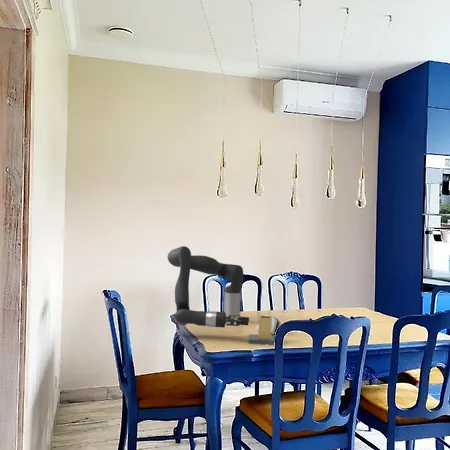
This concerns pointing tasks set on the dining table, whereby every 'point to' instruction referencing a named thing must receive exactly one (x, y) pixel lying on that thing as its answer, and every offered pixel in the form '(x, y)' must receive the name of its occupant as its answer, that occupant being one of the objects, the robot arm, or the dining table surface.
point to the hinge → (274, 325)
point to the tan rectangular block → (265, 327)
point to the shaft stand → (260, 340)
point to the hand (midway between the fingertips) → (248, 321)
